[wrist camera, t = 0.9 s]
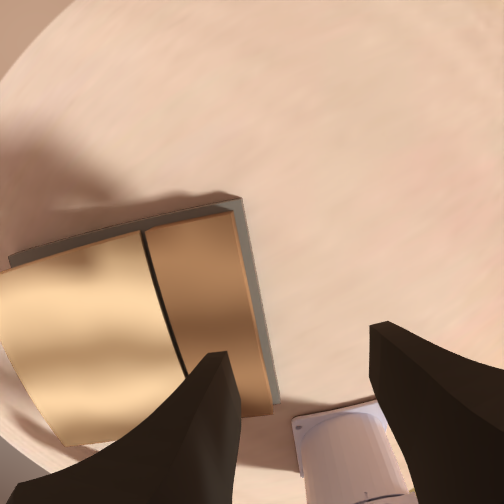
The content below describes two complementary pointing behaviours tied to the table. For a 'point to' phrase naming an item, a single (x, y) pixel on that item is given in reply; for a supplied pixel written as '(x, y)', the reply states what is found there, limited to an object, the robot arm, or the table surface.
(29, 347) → the oak plank
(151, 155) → the table surface
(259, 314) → the rubber mat
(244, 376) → the brown curved block
